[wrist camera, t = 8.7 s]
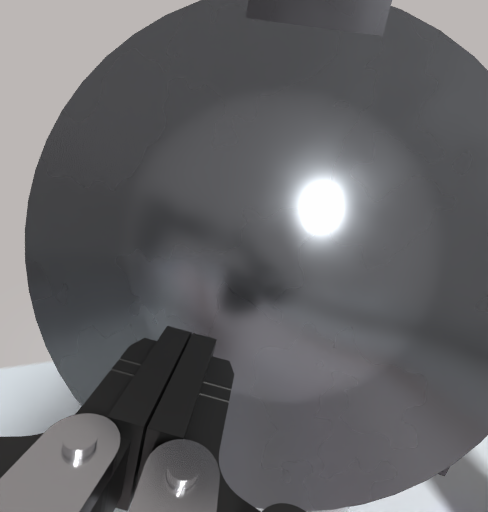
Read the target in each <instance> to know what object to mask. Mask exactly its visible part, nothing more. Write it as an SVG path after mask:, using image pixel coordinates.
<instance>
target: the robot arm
mask: <svg viewBox="0 0 488 512" xmlns="http://www.w3.org/2000/svg"><path fill="white" fill-rule="evenodd" d="M216 341H217V339H215V338H211V337H207V336H204V335H200V334H196V333H193V334H192V332H189V331H186V330H182V329H178V328H174V327H171V326H167V327H166V328H165V330H164V331H163V333H162V334H161V336H160V337H159V339H158V340H157V341H155V340H151V339H147V338H143V339H141V340H139V341H137V342H136V343H134V344H132V345H130V346H129V347H128V348H127V350H126V351H125V352H124V354H123V355H122V356H121V357H120V360H118V361H117V362H116V364H115V365H114V366H113V367H112V370H111V371H109V373H108V374H107V375H106V376H105V378H104V379H103V380H102V381H101V383H100V384H99V385H98V387H97V388H96V389H95V390H94V392H93V393H92V394H91V395H90V397H89V398H88V399H87V400H86V402H85V403H84V404H83V406H82V407H81V408H80V409H79V411H78V412H77V413H76V414H75V415H73V416H69V417H67V418H64V419H62V420H60V421H58V422H57V423H55V424H54V425H52V426H51V427H50V428H49V429H48V430H47V431H46V432H45V433H42V434H38V435H32V436H22V437H0V512H114V510H115V508H118V509H122V510H125V511H128V509H129V507H130V509H129V512H261V511H259V510H258V509H256V508H255V507H253V506H252V505H251V504H249V503H248V502H246V501H245V500H243V499H242V498H240V497H239V496H238V495H237V494H236V493H235V492H234V491H233V490H232V489H231V488H230V487H229V486H228V484H227V483H226V481H225V479H224V478H223V476H222V473H221V470H220V466H219V450H220V445H221V440H222V435H223V430H224V425H225V420H226V415H227V410H228V405H229V399H230V394H231V389H232V384H233V379H234V372H233V369H232V366H231V364H230V361H228V360H224V359H220V358H217V357H213V354H214V350H215V346H216ZM131 502H132V503H131ZM130 504H131V506H130ZM262 512H306V511H305V510H303V509H301V508H300V507H297V506H295V505H292V504H287V503H278V504H273V505H271V506H268V507H267V508H265V509H264V510H263V511H262Z"/></svg>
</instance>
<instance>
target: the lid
mask: <svg viewBox="0 0 488 512" xmlns="http://www.w3.org/2000/svg"><path fill="white" fill-rule="evenodd" d="M391 2H392V0H201V1H198V2H196V3H193V4H191V5H189V6H186V7H184V8H182V9H179V10H177V11H174V12H172V13H170V14H167V15H165V16H164V17H162V18H160V19H159V20H157V21H155V22H154V23H152V24H150V25H149V26H147V27H145V28H144V29H142V30H140V31H139V32H137V33H135V34H134V35H132V36H131V37H130V38H129V39H128V40H126V41H125V42H124V43H123V44H121V45H120V46H119V47H118V48H116V49H115V50H114V51H113V52H112V53H110V54H109V55H108V56H107V57H105V59H104V60H103V61H102V62H101V63H100V64H99V65H98V66H97V67H96V68H95V69H94V70H93V71H92V73H91V74H90V75H89V76H88V77H87V78H86V79H85V80H84V81H83V82H82V83H81V85H80V86H79V88H78V89H77V90H76V92H75V93H74V95H73V96H72V98H71V99H70V100H69V102H68V103H67V104H66V106H65V107H64V109H63V110H62V112H61V114H60V116H59V118H58V120H57V121H56V123H55V125H54V127H53V129H52V131H51V133H50V135H49V137H48V139H47V141H46V144H45V146H44V149H43V151H42V154H41V157H40V159H39V162H38V165H37V167H36V170H35V174H34V179H33V183H32V187H31V192H30V196H29V200H28V209H27V217H26V227H25V263H26V271H27V278H28V287H29V293H30V296H31V301H32V305H33V309H34V313H35V317H36V321H37V323H38V326H39V329H40V331H41V334H42V337H43V340H44V342H45V345H46V347H47V350H48V352H49V353H50V355H51V358H52V360H53V362H54V364H55V366H56V368H57V370H58V372H59V373H60V375H61V377H62V378H63V380H64V381H65V383H66V384H67V386H68V387H69V389H70V391H71V392H72V394H73V395H74V397H75V398H76V399H77V401H78V402H79V403H80V404H81V406H83V404H84V403H85V402H86V400H87V399H88V398H89V397H90V395H91V394H92V393H93V392H94V390H95V389H96V388H97V387H98V385H99V384H100V383H101V381H102V380H103V379H104V378H105V376H106V375H107V374H108V373H109V371H111V370H112V367H113V366H114V365H115V364H116V362H117V361H118V360H120V357H121V356H122V355H123V354H124V352H125V351H126V350H127V348H128V347H129V346H130V345H132V344H134V343H136V342H137V341H139V340H141V339H143V338H147V339H151V340H155V341H157V340H158V339H159V337H160V336H161V334H162V333H163V331H164V330H165V328H166V327H167V326H171V327H174V328H178V329H182V330H186V331H189V332H192V334H193V333H196V334H200V335H204V336H207V337H211V338H215V339H217V341H216V346H215V350H214V354H213V357H217V358H220V359H224V360H228V361H230V364H231V366H232V369H233V372H234V379H233V384H232V389H231V394H230V399H229V405H228V410H227V415H226V420H225V425H224V430H223V435H222V440H221V445H220V450H219V466H220V470H221V473H222V476H223V478H224V479H225V481H226V483H227V484H228V486H229V487H230V488H231V489H232V490H233V491H234V492H235V493H236V494H237V495H238V496H239V497H240V498H242V499H243V500H245V501H246V502H248V503H249V504H251V505H252V506H253V507H255V508H260V509H265V508H267V507H268V506H271V505H273V504H278V503H287V504H292V505H295V506H297V507H300V508H301V509H303V510H305V511H320V510H334V509H339V508H345V507H350V506H356V505H361V504H366V503H369V502H372V501H376V500H379V499H382V498H385V497H389V496H392V495H395V494H397V493H400V492H402V491H404V490H406V489H409V488H411V487H413V486H415V485H417V484H420V483H422V482H424V481H426V480H428V479H429V478H431V477H433V476H434V475H436V474H438V473H439V472H441V471H443V470H444V469H446V468H448V467H449V466H451V465H452V464H454V463H455V462H457V461H458V460H459V459H460V458H462V457H463V456H464V455H465V454H467V453H468V452H469V451H470V450H472V449H473V448H474V447H475V446H477V445H478V444H479V443H480V442H481V441H482V440H483V439H484V438H485V437H486V436H487V435H488V70H487V69H486V68H485V67H484V66H483V65H482V64H481V63H480V62H479V61H478V60H477V59H476V58H475V57H474V56H473V55H471V54H470V53H469V52H467V51H466V50H465V49H464V48H462V47H461V46H460V45H458V44H457V43H456V42H454V41H453V40H452V39H451V38H449V37H448V36H447V35H445V34H444V33H443V32H441V31H440V30H438V29H436V28H434V27H433V26H431V25H429V24H427V23H425V22H423V21H422V20H420V19H418V18H416V17H414V16H412V15H410V14H409V13H407V12H404V11H403V10H401V9H398V8H395V7H392V6H391Z"/></svg>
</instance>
